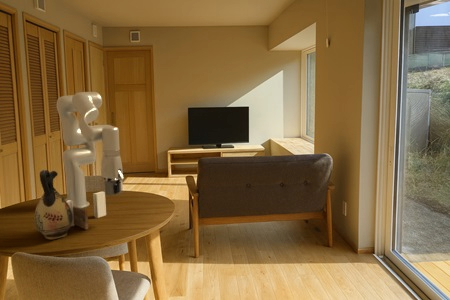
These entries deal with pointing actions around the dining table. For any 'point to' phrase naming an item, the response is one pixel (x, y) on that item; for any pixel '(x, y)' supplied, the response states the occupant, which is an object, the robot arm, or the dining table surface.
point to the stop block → (110, 187)
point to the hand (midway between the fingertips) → (113, 191)
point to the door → (80, 217)
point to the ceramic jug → (52, 209)
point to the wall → (98, 205)
